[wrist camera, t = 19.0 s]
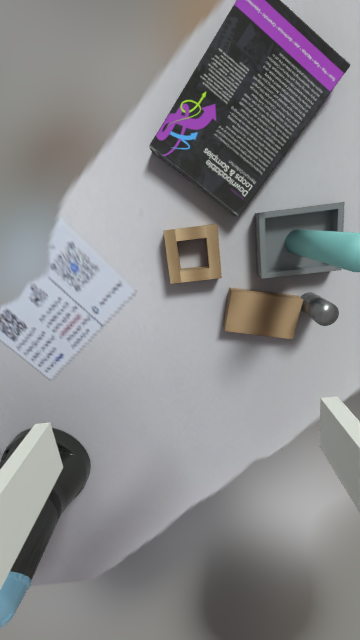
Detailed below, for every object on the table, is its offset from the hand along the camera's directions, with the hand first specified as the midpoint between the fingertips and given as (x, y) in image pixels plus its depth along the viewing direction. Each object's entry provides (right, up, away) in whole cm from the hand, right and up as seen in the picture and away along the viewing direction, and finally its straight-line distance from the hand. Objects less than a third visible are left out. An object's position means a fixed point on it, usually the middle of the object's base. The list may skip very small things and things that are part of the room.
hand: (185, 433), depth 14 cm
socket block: (+2, +15, +27) cm, 31 cm away
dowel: (+16, +16, +26) cm, 34 cm away
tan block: (+12, +7, +30) cm, 33 cm away
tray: (+15, +16, +26) cm, 35 cm away
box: (+7, +31, +23) cm, 39 cm away
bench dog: (+19, +8, +29) cm, 35 cm away
